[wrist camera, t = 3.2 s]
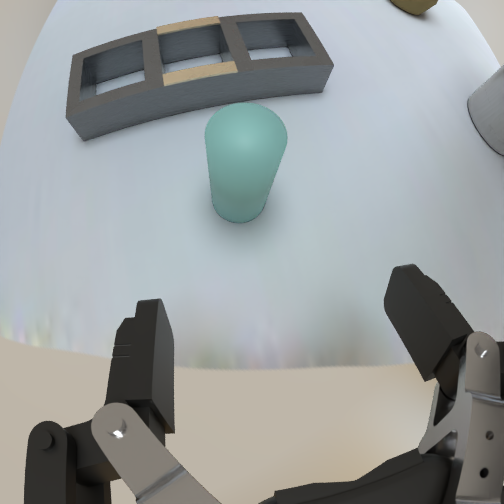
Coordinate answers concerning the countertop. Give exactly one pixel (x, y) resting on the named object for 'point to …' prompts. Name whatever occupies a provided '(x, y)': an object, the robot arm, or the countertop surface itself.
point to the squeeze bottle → (415, 5)
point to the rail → (194, 70)
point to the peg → (243, 158)
